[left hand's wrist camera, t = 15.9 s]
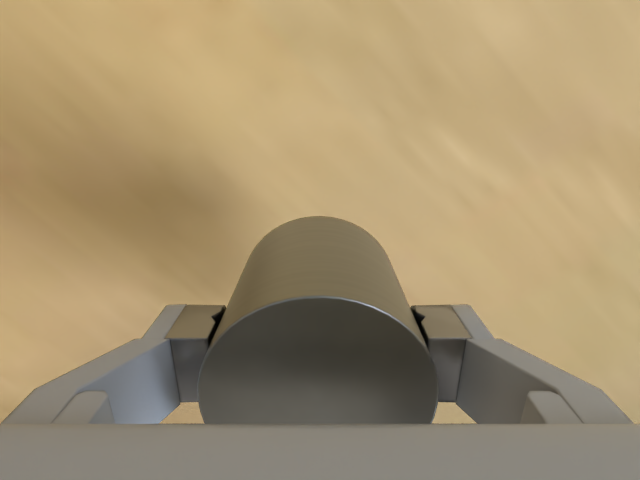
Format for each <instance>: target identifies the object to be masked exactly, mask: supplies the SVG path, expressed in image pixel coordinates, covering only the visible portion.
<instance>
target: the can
mask: <svg viewBox="0 0 640 480" xmlns="http://www.w3.org/2000/svg"><path fill="white" fill-rule="evenodd" d="M438 395H439V386H438V377H437V372H436V368H435V365H434V363H433V360H432V358H431V355H430V353H429V351H428V348H427V346H426V344H425V341H424V339H423V337H422V334H421V332H420V330H419V327H418V325H417V323H416V320H415V318H414V316H413V314H412V311H411V309H410V307H409V304H408V302H407V300H406V297H405V295H404V293H403V290H402V288H401V286H400V283H399V281H398V279H397V276H396V274H395V272H394V269H393V267H392V265H391V262H390V260H389V258H388V256H387V254H386V252H385V251H384V249H383V247H382V246H381V245H380V244H379V242H378V241H377V240H376V239H375V238H374V237H373V236H372V235H370V234H369V233H368V232H367V231H365V230H364V229H362V228H361V227H359V226H357V225H355V224H353V223H351V222H348V221H345V220H342V219H338V218H333V217H325V216H311V217H304V218H299V219H296V220H292V221H289V222H287V223H285V224H282V225H280V226H279V227H277V228H275V229H274V230H272V231H271V232H270V233H268V234H267V235H266V236H265V237H264V238H263V239H262V240H261V241H260V242H259V243H258V244H257V245H256V247H255V248H254V250H253V251H252V253H251V255H250V257H249V259H248V261H247V263H246V265H245V268H244V270H243V272H242V274H241V277H240V279H239V281H238V283H237V286H236V288H235V290H234V292H233V295H232V297H231V299H230V301H229V304H228V306H227V308H226V310H225V312H224V315H223V317H222V319H221V321H220V324H219V326H218V328H217V330H216V333H215V335H214V337H213V339H212V342H211V344H210V346H209V348H208V351H207V353H206V355H205V357H204V360H203V363H202V366H201V369H200V372H199V378H198V402H199V407H200V412H201V415H202V417H203V420H204V423H205V424H431V423H432V421H433V419H434V416H435V412H436V408H437V404H438Z"/></svg>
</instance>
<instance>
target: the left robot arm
mask: <svg viewBox="0 0 640 480" xmlns="http://www.w3.org/2000/svg"><path fill="white" fill-rule="evenodd" d="M410 309H411V311H412V314H413V316H414V318H415V320H416V323H417V325H418V327H419V330H420V332H421V334H422V337H423V339H424V341H425V344H426V346H427V348H428V351H429V353H430V355H431V358H432V360H433V363H434V365H435V368H436V372H437V377H438V386H439V395H438V402H456V404H457V405H458V406H459V407H460V408H461V409H462V410H463V411H464V412H465V413H467V414H468V415H469V416H470V417H471V418H472V419H473V420H474V421H475V422H476V423H478V424H159V423H160V422H161V421H162V420H163V419H164V418H165V417H166V416H168V415H169V414H170V413H171V412H172V411H173V410H174V409H175V408H176V407H178V406H179V405H180V402H198V378H199V372H200V369H201V366H202V363H203V360H204V357H205V355H206V353H207V351H208V348H209V346H210V344H211V342H212V339H213V337H214V335H215V333H216V330H217V328H218V326H219V324H220V321H221V319H222V317H223V315H224V312H225V310H226V307H225V305H187V304H178V305H167V306H166V307H165V308H164V309H163V311H162V312H161V313H160V314H159V316H158V317H157V318H156V320H155V321H154V322H153V324H152V325H151V326H150V328H149V329H148V330H147V332H146V333H145V334H144V336H143V337H142V338H141V339H134V340H132V341H130V342H128V343H126V344H124V345H122V346H120V347H118V348H116V349H114V350H112V351H110V352H108V353H106V354H104V355H102V356H100V357H98V358H96V359H94V360H92V361H90V362H88V363H86V364H84V365H82V366H80V367H78V368H76V369H74V370H72V371H70V372H68V373H66V374H64V375H62V376H60V377H58V378H56V379H54V380H52V381H50V382H48V383H46V384H44V385H42V386H40V387H38V388H36V389H34V390H33V391H32V392H31V393H30V394H29V395H28V396H27V397H26V398H25V399H24V400H23V401H22V402H21V403H20V404H19V405H18V406H17V407H16V408H15V409H14V410H13V411H12V412H11V413H10V414H9V415H8V416H7V417H6V418H5V419H4V420H3V421H2V422H1V423H0V480H640V424H634V423H633V422H632V421H631V420H630V419H629V418H628V417H627V416H626V415H625V414H624V413H623V412H622V411H621V410H620V408H619V407H618V406H617V405H616V404H615V403H614V402H613V401H612V400H611V399H610V398H609V397H608V396H607V395H606V394H605V393H604V392H603V391H602V390H601V389H599V388H597V387H595V386H593V385H591V384H589V383H587V382H585V381H583V380H581V379H579V378H577V377H575V376H573V375H571V374H569V373H567V372H565V371H563V370H561V369H559V368H557V367H555V366H553V365H551V364H549V363H547V362H546V361H544V360H542V359H540V358H538V357H536V356H534V355H532V354H530V353H528V352H526V351H524V350H522V349H520V348H518V347H516V346H514V345H512V344H510V343H508V342H506V341H504V340H502V339H495V338H494V337H493V336H492V334H491V333H490V332H489V330H488V329H487V328H486V326H485V325H484V324H483V322H482V321H481V320H480V318H479V317H478V315H477V314H476V313H475V311H474V310H473V309H472V307H471V306H470V305H467V304H460V305H420V306H411V308H410Z"/></svg>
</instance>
